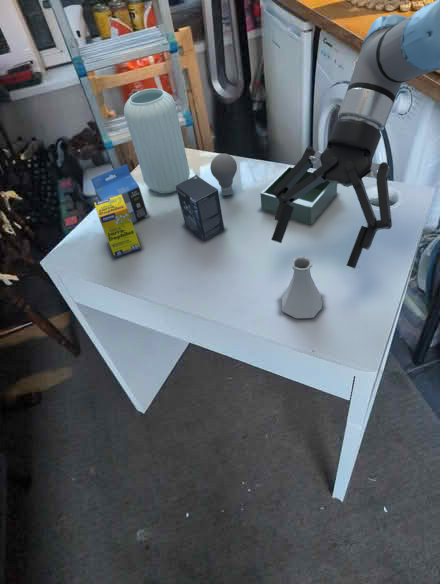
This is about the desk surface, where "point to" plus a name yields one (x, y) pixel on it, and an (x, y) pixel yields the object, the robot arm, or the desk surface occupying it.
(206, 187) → the box
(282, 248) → the desk surface
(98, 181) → the tape cartridge
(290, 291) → the flask
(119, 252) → the supplement box
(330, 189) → the caddy
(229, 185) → the light bulb
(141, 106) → the vase
